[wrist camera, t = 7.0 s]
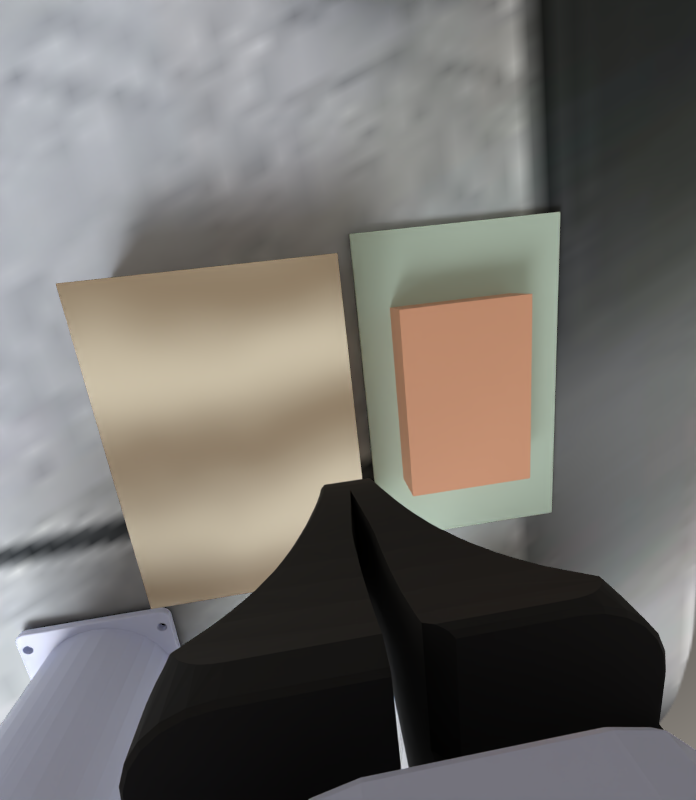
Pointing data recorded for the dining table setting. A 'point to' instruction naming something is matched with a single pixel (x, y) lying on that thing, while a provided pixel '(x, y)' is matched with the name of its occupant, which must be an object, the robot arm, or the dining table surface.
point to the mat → (451, 280)
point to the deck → (217, 413)
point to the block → (464, 391)
